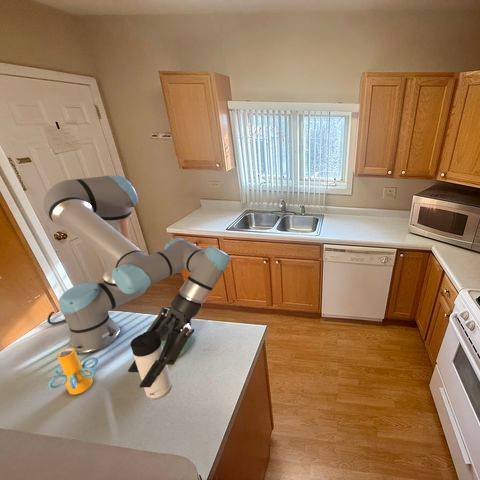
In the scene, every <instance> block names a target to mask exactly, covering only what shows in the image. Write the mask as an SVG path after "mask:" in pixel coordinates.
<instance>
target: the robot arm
mask: <svg viewBox="0 0 480 480" xmlns="http://www.w3.org/2000/svg"><path fill="white" fill-rule="evenodd" d="M138 204H139V197H138V194H137V191H136V189H135V188H134V186H133V184H132V183H131V182H130V181H129V180H128V179H127V178H126V177H124V176H122V175H119V174H118V175H117V174H116V175H102V176H94V177H85V178H75V179H73V178H71V179H67V180H63V181H62V180H61V181H60V182H57V183H55V184H53V186H51V187H50V188H49V189H48V190H47V192H46V194H45V196H44V198H43V210H44V212H45V214H46V216H47V217H48V219H49V220H50V221H51V222H52V223H53V224H55V225H56V226H58V227H60V228H63V229H67V230H68V231H69V232H70V233H72V235H74V236H75V237H76V238H78V239H79V240H80V241H81V242H82V243H83V244H85V246H87V247H88V248H89V249H90V250H92V251H93V252H94V253H95V254H96V255H98V256H99V257H100V258H101V259H102V260H103V261H104V264H105V268H106V271H105V272H104V273H103V275H102V278H103V281H101V282H98V283H97V282H94V281H89V282H86V283H83V282H82V283H79V284H77V285H75V286H72V287H70V288H69V289H67V290H66V291H64V292H63V293H62V295H61V296H60V297H59V299H58V304H59V309H60V312H61V313H62V315H63V317H64V319H63V320H60V321H55V322H52V321H51V317H52V315H53V314H55V311H51V312H50V313H49V315H48V316H47V323H48V324H49V325H59V324H62V323H65V322H66V324H67V326H68V328H69V331H70V334H69V343H68V344H69V348H74V349H75V351H76V353H77V355H87V354H91V353H95V352H98V351H101V350H103V349H105V348H106V347H109V346H110V345H111V344H112V343H114V342H115V341H116V340H117V339H118V338H119V337H120V335H121V329H120V326H119V325H118V323H117V322H116V321H115V320H114V319H112V317H110V314H109V312H110V311H111V310H114V309H115V308H118V307H120V306H123V305H124V304H125V303H128V302H130V301H132V300H134V299H137V298H139V297H140V296H142V295H143V294H145V292H146V291H147V288H149V287H151V286H153V285H154V284H157V283H159V282H161V281H163V280H164V279H167V278H169V277H171V276H174V275H175V274H178V273H179V272H182V271H184V270H186V271H188V273H190V274H189V275H188V276H187V278H186V279H185V281H184V283H183V284H182V285H181V287H180V288H179V289H178V290H179V293H176V295H175V296H174V298H173V299H172V301H171V302H170V307H172V308H170V309H168V308H167V307H161V309H160V311H159V313H158V315H157V316H156V318H155V319H154V321H153V322H152V323H151V325H150V326H149V327H148V328H147V330H145V332H147V331H157V332H159V335H160V339H161V338H162V337H163V336H164V335H165V334H166V333H167V332H168V338H167V340H166V343H165V345H164V348H163V350H162V353H161V355H160V358H159V360H156V361H155V362H154V364H153V365H152V367H151V368H150V370H149V371H148V373H147V374H146V376H145V377H144V379H143V381H142V380H141V382H140V384H139V385H138V387H139V388H143V389H144V387H151V386H152V384H153V382H154V381H155V379H156V378H157V376H159V375H160V374H161V372H162V370H163V369H164V367H165V366H166V365H167V366H173V365H175V363H176V362H177V359H178V358H179V356H180V355H179V354H180V352H181V351H182V349H183V347H184V345H185V343H186V342H187V340H188V338H189V337H190V336H191V334H192V335H193V334H194V333H195V328H192V327H190V325H189V324H190V321H191V322H192V318H193V317H196V316H197V315H198V314H199V312H200V311H201V308H202V307H203V303H205V302H206V301H207V299H208V297H209V296H210V294H211V292H212V291H213V289H214V287H215V286H216V285H217V283H218V281H219V280H220V278H221V277H222V275H223V274H224V272H226V269H227V267H228V266H229V263H230V262H231V256H230V255H229V254H227V253H226V252H224V251H223V250H220V249H219V248H217V247H215V246H213V245H209V246H207V248H206V249H203V248H202V247H199V246H198V245H196V244H194V242H192V241H189V240H186V239H184V238H182V237H175V238H172V239H170V241H168V242H167V243H166V244H165V245H164V247H163V250H159V251H157V252H154V253H152V254H149V255H148V254H147V253H145V252H144V251H142V249H140V248H139V247H138V246H136V245H135V244H134V243H133V242H131V234H130V228H129V221H128V219H129V218H130V217H131V216H132V214H133V213H132V212H133V211H132V208H135V207H136V206H137V205H138ZM173 331H174V332H173ZM175 332H177V333H175ZM165 357H166V358H165ZM127 372H128V373H139V371H138V368H137V365H136V362H135V359H134V360H133V362H132V364H131V365H130V366H129V368H128V369H127Z"/></svg>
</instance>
